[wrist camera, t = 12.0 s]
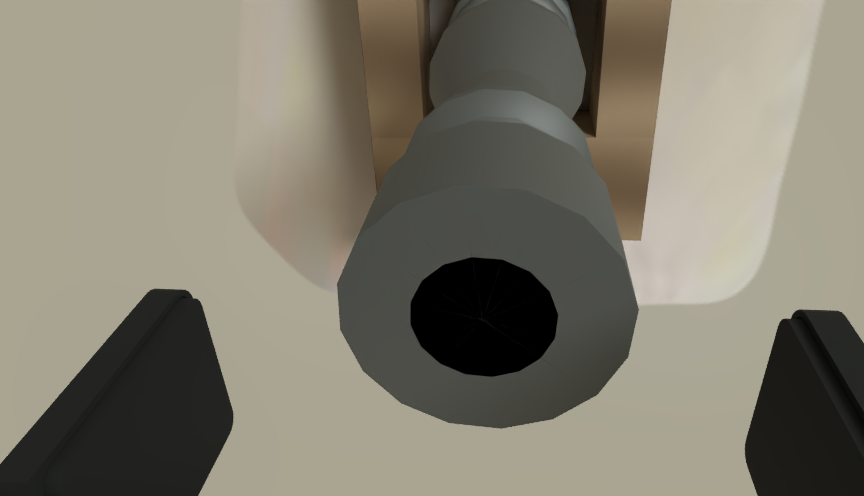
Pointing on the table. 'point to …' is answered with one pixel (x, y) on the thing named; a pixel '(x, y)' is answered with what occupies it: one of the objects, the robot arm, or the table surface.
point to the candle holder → (493, 235)
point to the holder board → (602, 125)
